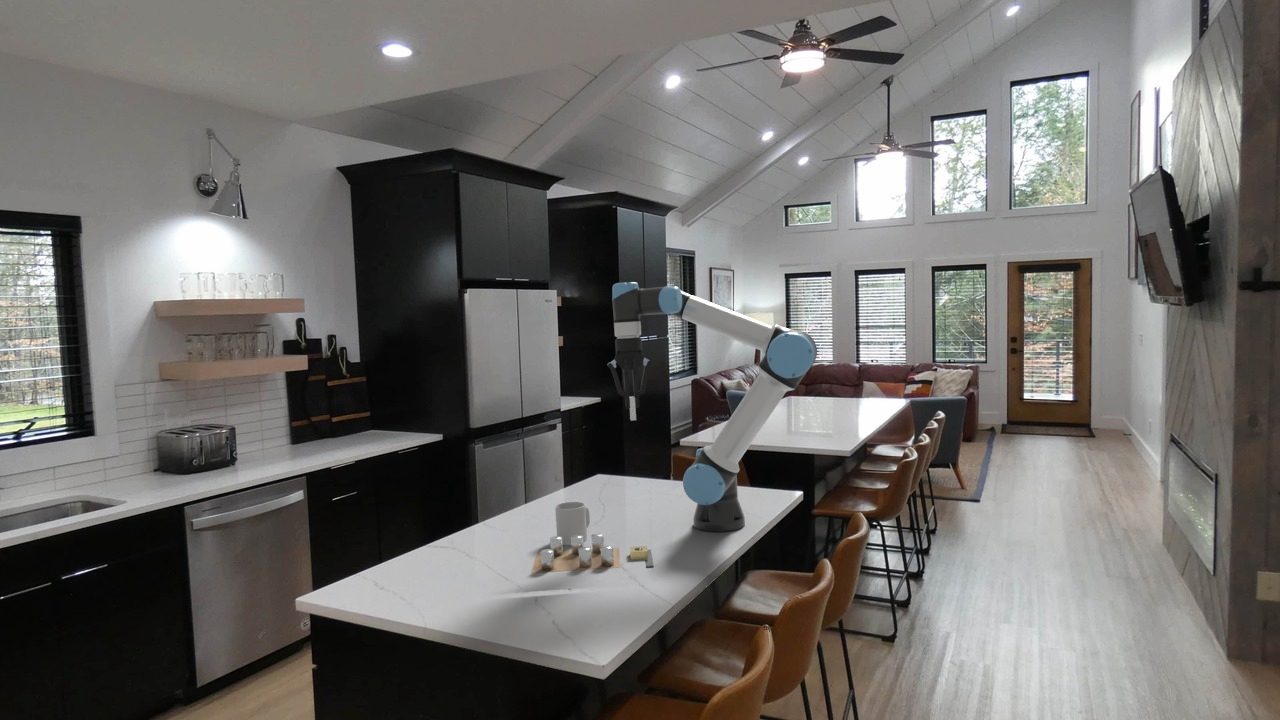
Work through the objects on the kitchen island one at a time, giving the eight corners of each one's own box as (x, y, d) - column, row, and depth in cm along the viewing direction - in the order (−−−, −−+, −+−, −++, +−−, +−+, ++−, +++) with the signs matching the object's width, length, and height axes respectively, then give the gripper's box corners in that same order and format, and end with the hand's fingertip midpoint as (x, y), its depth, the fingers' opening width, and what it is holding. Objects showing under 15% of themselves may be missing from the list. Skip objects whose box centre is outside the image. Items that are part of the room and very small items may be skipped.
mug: (574, 550, 206) (572, 510, 206) (551, 546, 211) (548, 507, 211) (601, 538, 216) (599, 500, 216) (578, 534, 221) (575, 497, 220)
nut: (647, 555, 197) (646, 545, 197) (648, 560, 193) (647, 550, 193) (630, 556, 197) (629, 546, 197) (630, 561, 193) (630, 552, 193)
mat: (650, 550, 202) (650, 549, 202) (653, 567, 189) (653, 565, 189) (621, 552, 202) (620, 551, 202) (621, 569, 189) (621, 567, 189)
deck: (619, 551, 203) (618, 547, 203) (619, 571, 187) (619, 567, 187) (537, 556, 202) (537, 552, 202) (531, 577, 186) (531, 573, 186)
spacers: (613, 549, 202) (612, 532, 202) (614, 566, 188) (613, 548, 188) (545, 553, 202) (544, 536, 201) (541, 571, 187) (540, 553, 187)
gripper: (649, 335, 218) (654, 416, 219) (604, 338, 217) (609, 419, 218) (652, 336, 210) (657, 419, 212) (605, 339, 209) (611, 423, 210)
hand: (633, 419), depth 215 cm, fingers closed
